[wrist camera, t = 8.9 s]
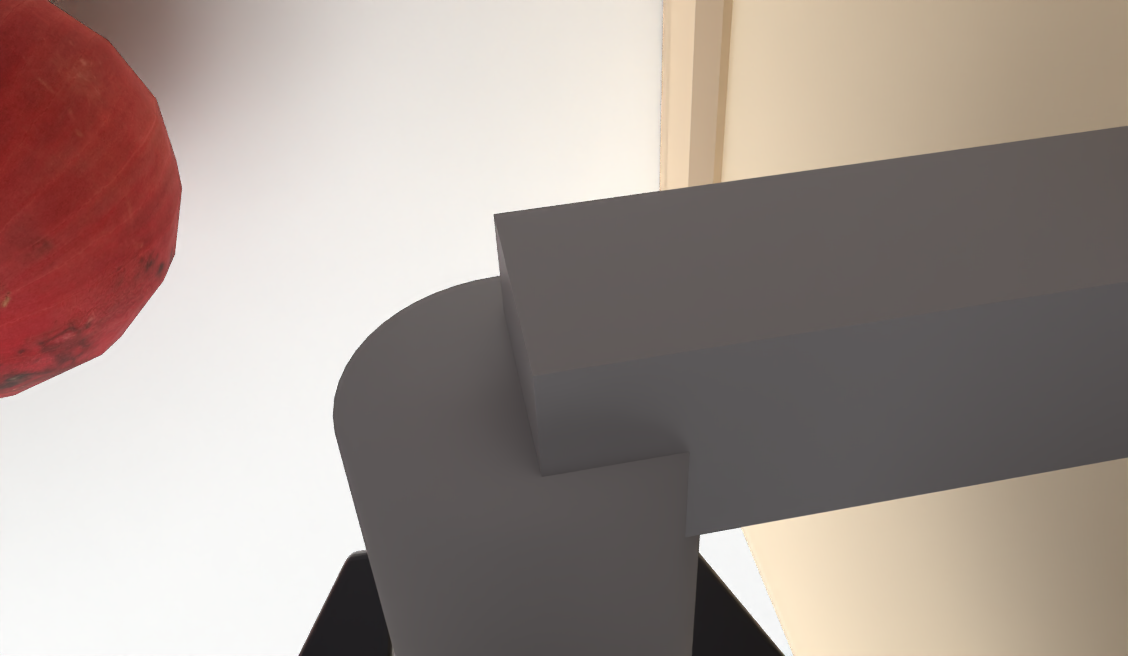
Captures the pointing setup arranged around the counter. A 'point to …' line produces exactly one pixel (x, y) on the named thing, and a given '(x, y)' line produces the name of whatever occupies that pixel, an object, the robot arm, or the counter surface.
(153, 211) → the onion
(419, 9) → the counter surface
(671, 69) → the carton
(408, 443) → the flap
